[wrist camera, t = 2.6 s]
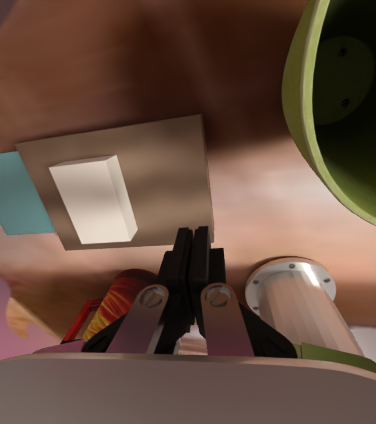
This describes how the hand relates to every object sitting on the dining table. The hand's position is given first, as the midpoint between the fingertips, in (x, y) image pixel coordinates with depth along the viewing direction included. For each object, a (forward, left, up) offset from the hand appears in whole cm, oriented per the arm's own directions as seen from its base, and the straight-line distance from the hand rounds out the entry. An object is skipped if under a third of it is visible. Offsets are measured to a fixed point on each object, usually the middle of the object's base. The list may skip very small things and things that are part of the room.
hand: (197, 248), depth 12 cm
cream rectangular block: (0, +12, -11) cm, 16 cm away
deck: (0, +10, -15) cm, 18 cm away
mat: (0, +26, -15) cm, 30 cm away
